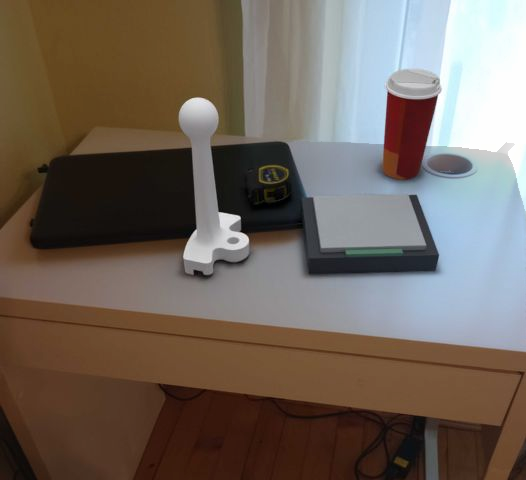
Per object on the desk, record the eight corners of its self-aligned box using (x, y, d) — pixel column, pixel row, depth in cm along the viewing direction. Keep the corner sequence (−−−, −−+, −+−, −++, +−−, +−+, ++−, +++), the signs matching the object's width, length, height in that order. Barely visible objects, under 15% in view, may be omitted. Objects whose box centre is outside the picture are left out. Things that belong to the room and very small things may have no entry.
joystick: (211, 224, 87) (198, 77, 73) (262, 234, 85) (260, 85, 71) (177, 271, 80) (155, 118, 66) (232, 283, 78) (222, 128, 64)
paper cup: (431, 163, 98) (449, 71, 88) (418, 187, 93) (435, 93, 83) (383, 154, 101) (394, 63, 91) (368, 176, 96) (378, 83, 86)
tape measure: (243, 186, 94) (242, 163, 91) (288, 182, 95) (288, 159, 92) (248, 211, 89) (247, 187, 87) (296, 206, 90) (297, 183, 87)
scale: (414, 209, 89) (417, 189, 87) (435, 270, 79) (440, 249, 77) (300, 212, 89) (301, 192, 87) (308, 273, 79) (309, 252, 77)
